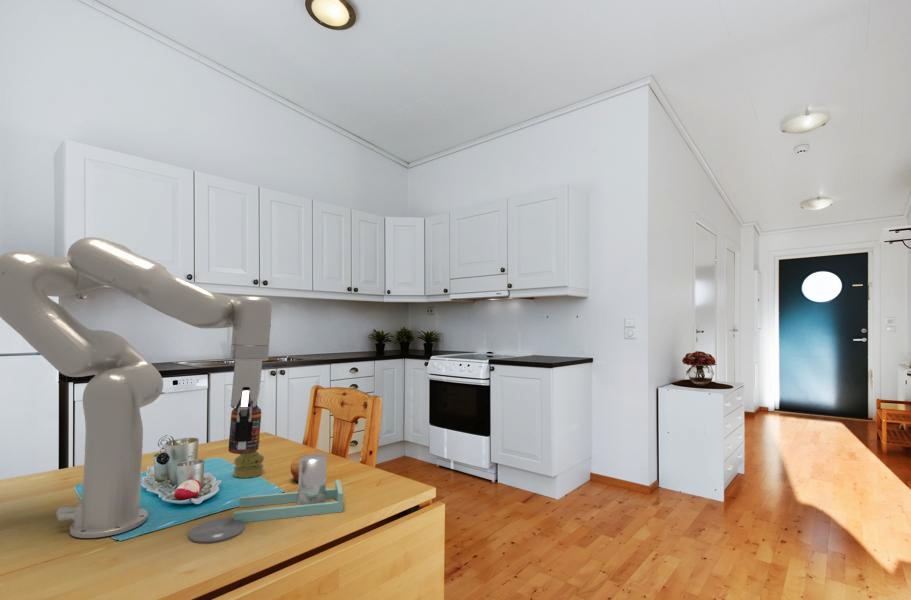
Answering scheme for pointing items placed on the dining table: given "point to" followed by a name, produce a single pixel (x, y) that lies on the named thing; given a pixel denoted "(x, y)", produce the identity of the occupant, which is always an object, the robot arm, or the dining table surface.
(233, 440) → the supplement bottle
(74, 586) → the dining table surface
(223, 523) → the coaster
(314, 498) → the can
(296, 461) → the fruit
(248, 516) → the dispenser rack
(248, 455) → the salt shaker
